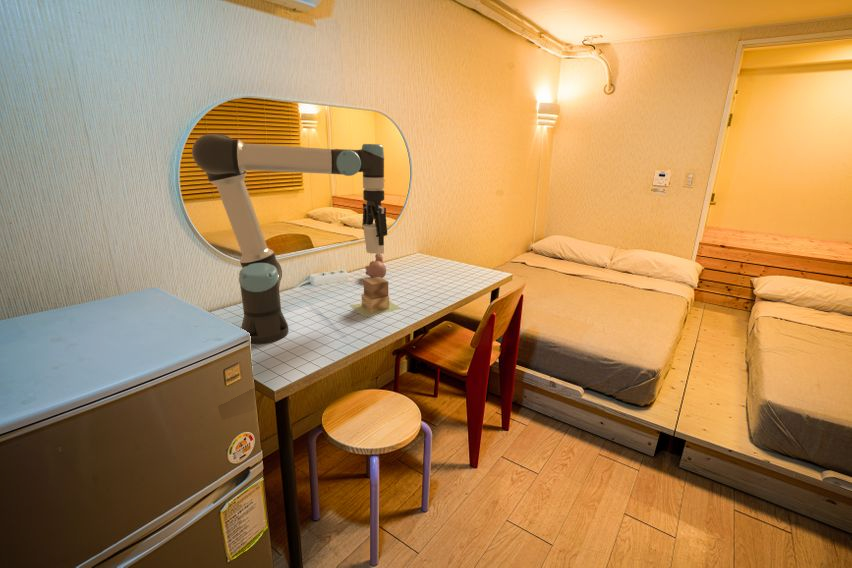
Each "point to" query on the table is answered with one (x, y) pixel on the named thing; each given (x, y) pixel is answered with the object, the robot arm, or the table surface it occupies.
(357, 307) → the build plate
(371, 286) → the walnut block
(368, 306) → the oak block
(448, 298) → the table surface
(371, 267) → the figurine
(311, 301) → the table surface
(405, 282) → the table surface
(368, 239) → the dixie cup
